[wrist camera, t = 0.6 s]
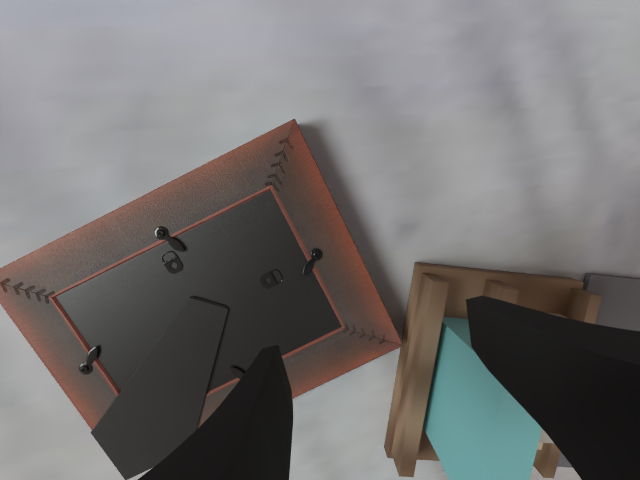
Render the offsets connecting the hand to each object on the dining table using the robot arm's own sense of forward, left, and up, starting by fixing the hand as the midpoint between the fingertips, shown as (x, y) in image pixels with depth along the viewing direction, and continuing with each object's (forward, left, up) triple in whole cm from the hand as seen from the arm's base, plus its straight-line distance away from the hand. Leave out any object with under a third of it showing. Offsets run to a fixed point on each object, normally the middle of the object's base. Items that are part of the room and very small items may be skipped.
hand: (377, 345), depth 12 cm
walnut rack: (-6, -11, -11) cm, 17 cm away
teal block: (-6, -8, -10) cm, 14 cm away
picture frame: (-3, +9, -12) cm, 15 cm away
